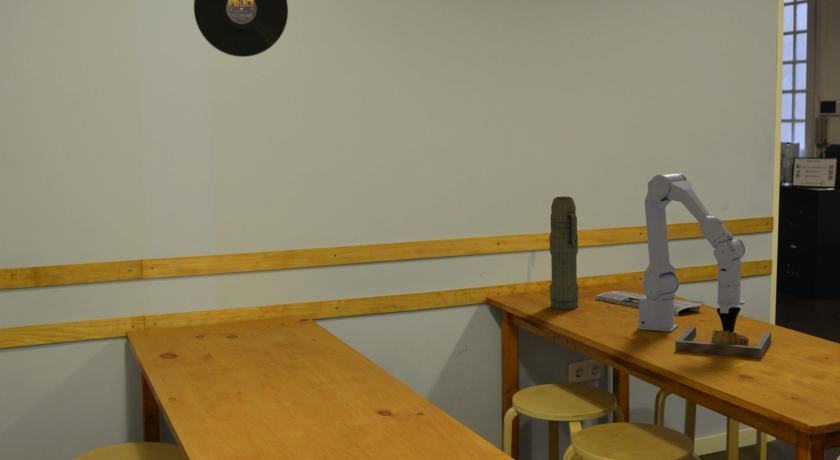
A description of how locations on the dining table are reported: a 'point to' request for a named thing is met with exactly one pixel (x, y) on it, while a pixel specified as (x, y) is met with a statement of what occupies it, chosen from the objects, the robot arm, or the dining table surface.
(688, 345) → the grey u-shaped frame
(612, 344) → the dining table surface
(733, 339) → the pastry
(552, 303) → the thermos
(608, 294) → the newspaper
